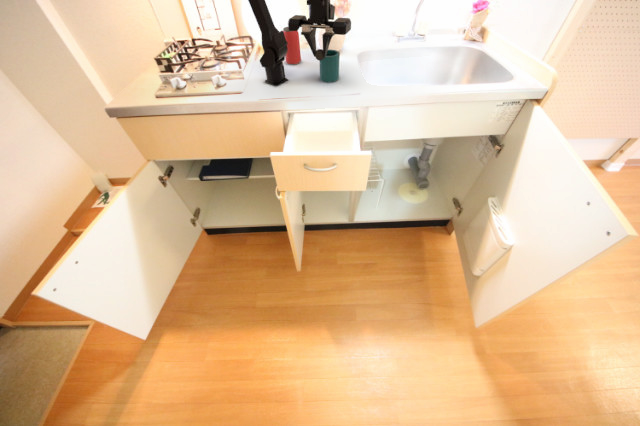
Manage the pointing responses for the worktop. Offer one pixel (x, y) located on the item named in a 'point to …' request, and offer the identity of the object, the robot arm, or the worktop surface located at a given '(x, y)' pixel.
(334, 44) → the cup
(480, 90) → the worktop surface
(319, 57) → the ball
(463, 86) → the worktop surface
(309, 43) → the robot arm
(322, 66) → the jar
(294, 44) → the beer can
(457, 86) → the worktop surface
